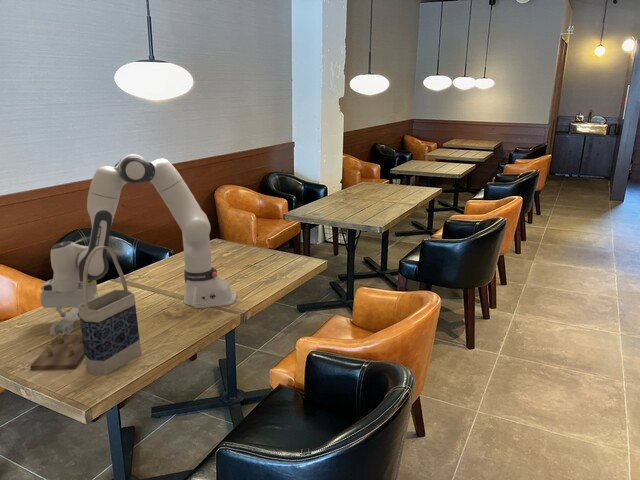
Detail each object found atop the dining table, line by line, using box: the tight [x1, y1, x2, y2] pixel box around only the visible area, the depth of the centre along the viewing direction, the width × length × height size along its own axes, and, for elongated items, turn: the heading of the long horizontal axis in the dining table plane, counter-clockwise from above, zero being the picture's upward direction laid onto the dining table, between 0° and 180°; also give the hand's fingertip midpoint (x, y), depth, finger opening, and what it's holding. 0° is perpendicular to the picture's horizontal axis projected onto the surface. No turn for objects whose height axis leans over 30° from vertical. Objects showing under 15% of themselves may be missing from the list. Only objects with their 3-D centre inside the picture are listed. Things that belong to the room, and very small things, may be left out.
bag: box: [78, 246, 142, 376], centre depth 162 cm, size 18×9×40 cm, turn 155°
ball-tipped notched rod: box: [49, 307, 80, 336], centre depth 196 cm, size 23×6×3 cm, turn 5°
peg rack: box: [29, 331, 85, 371], centre depth 172 cm, size 14×22×5 cm, turn 5°
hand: (71, 316), depth 197 cm, fingers open, 5 cm apart
